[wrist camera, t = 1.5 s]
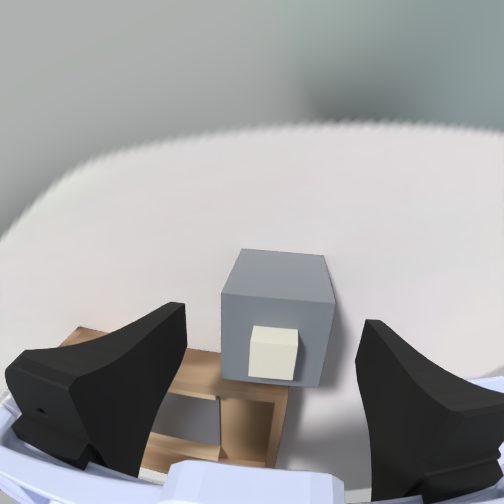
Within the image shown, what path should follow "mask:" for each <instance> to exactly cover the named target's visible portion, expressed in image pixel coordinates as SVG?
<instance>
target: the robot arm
mask: <svg viewBox="0 0 504 504" xmlns="http://www.w3.org/2000/svg"><path fill="white" fill-rule="evenodd" d="M186 348H187V331H186V314H185V304H184V303H177V302H169V303H167V304H165V305H163V306H161V307H160V308H158V309H156V310H154V311H153V312H151V313H149V314H147V315H146V316H144V317H142V318H140V319H138V320H137V321H135V322H133V323H131V324H129V325H127V326H125V327H123V328H121V329H119V330H116V331H114V332H112V333H109V334H107V335H104V336H101V337H98V338H95V339H92V340H88V341H85V342H81V343H78V344H73V345H68V346H63V347H57V348H49V349H35V350H25V351H23V352H22V353H21V354H20V355H19V356H18V357H17V358H16V359H15V360H14V361H13V362H12V363H11V364H10V365H9V366H8V367H7V368H6V370H5V379H6V383H7V386H8V388H9V390H10V392H11V394H12V396H13V398H14V400H15V402H16V404H17V406H18V408H19V410H20V411H21V413H22V414H21V415H20V416H19V418H18V419H17V418H16V417H15V416H14V415H13V414H12V413H10V412H9V411H7V410H5V409H4V408H2V407H0V489H1V490H2V491H4V492H5V493H7V494H8V495H9V496H11V497H12V498H13V499H15V500H16V501H18V502H19V503H21V504H345V492H344V482H343V481H342V480H340V479H338V478H336V477H335V476H333V475H331V474H329V473H324V472H317V471H310V470H287V469H272V468H261V467H251V466H242V465H234V464H227V463H221V462H214V461H208V460H190V459H188V460H185V461H182V462H179V463H175V464H172V465H171V467H170V470H169V472H168V475H167V478H166V481H165V483H164V485H160V484H156V483H152V482H149V481H145V480H142V479H138V475H139V470H140V466H141V463H142V459H143V455H144V452H145V448H146V445H147V442H148V438H149V435H150V432H151V429H152V426H153V423H154V421H155V418H156V415H157V412H158V410H159V407H160V405H161V403H162V401H163V399H164V397H165V395H166V393H167V391H168V389H169V387H170V385H171V383H172V381H173V380H174V378H175V376H176V374H177V372H178V370H179V368H180V365H181V363H182V360H183V357H184V354H185V351H186ZM355 365H356V374H357V382H358V386H359V390H360V394H361V398H362V402H363V406H364V410H365V414H366V419H367V423H368V429H369V436H370V448H371V467H372V493H371V502H364V503H349V504H504V376H498V377H491V378H483V379H475V380H464V379H462V378H460V377H457V376H455V375H453V374H451V373H450V372H448V371H446V370H444V369H443V368H441V367H439V366H438V365H436V364H435V363H433V362H432V361H430V360H429V359H427V358H426V357H424V356H423V355H422V354H421V353H419V352H418V351H417V350H415V349H414V348H413V347H412V346H410V345H409V344H408V343H407V342H406V341H404V340H403V339H402V338H401V337H400V336H399V335H398V334H396V333H395V332H394V331H393V330H392V329H391V328H390V327H388V326H387V325H386V324H385V323H383V322H382V321H381V320H369V319H366V320H365V324H364V328H363V332H362V336H361V340H360V344H359V348H358V351H357V355H356V358H355Z"/></svg>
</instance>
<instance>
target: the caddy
mask: <svg viewBox="0 0 504 504" xmlns="http://www.w3.org/2000/svg"><path fill="white" fill-rule="evenodd" d="M107 334H109V333H105V332H100V331H96V330H92V329H88V328H83V327H78V328H77V329H76V330H75V331H74V332H73V333H72V334H71V335H70V336H69V337H68V338H67V339H66V340H65V341H64V342H63V343H62V344H61V345H60V346H59V347H63V346H68V345H73V344H78V343H81V342H85V341H88V340H92V339H95V338H98V337H101V336H104V335H107ZM288 391H289V385H277V384H266V383H256V382H247V381H239V380H231V379H223V378H221V353H217V352H209V351H202V350H196V349H189V348H186V351H185V354H184V357H183V360H182V363H181V365H180V368H179V370H178V372H177V374H176V376H175V378H174V380H173V381H172V383H171V385H170V387H169V389H168V391H167V393H166V395H165V397H164V399H163V401H162V403H161V405H160V407H159V410H158V412H157V415H156V418H155V421H154V423H153V426H152V429H151V432H150V435H149V438H148V442H147V445H146V448H145V452H144V455H143V459H142V463H141V466H140V467H142V468H146V469H150V470H153V471H157V472H161V473H165V474H168V472H169V470H170V467H171V465H172V464H175V463H179V462H182V461H185V460H188V459H190V460H208V461H214V462H221V463H227V464H234V465H242V466H251V467H261V468H272V469H274V467H275V463H276V458H277V453H278V448H279V443H280V438H281V433H282V428H283V422H284V417H285V412H286V406H287V400H288Z"/></svg>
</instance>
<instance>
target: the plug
mask: <svg viewBox="0 0 504 504" xmlns="http://www.w3.org/2000/svg"><path fill="white" fill-rule="evenodd" d="M335 305H336V302H335V298H334V294H333V290H332V286H331V282H330V278H329V275H328V271H327V267H326V263H325V260H324V256H323V255H313V254H302V253H290V252H278V251H266V250H254V249H242V250H241V252H240V254H239V256H238V258H237V260H236V262H235V265H234V267H233V269H232V271H231V273H230V275H229V277H228V280H227V282H226V284H225V286H224V288H223V290H222V292H221V378H223V379H231V380H239V381H247V382H256V383H266V384H277V385H289V386H303V387H318V386H319V382H320V377H321V373H322V369H323V364H324V360H325V355H326V350H327V346H328V341H329V336H330V331H331V326H332V321H333V316H334V310H335Z"/></svg>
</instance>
